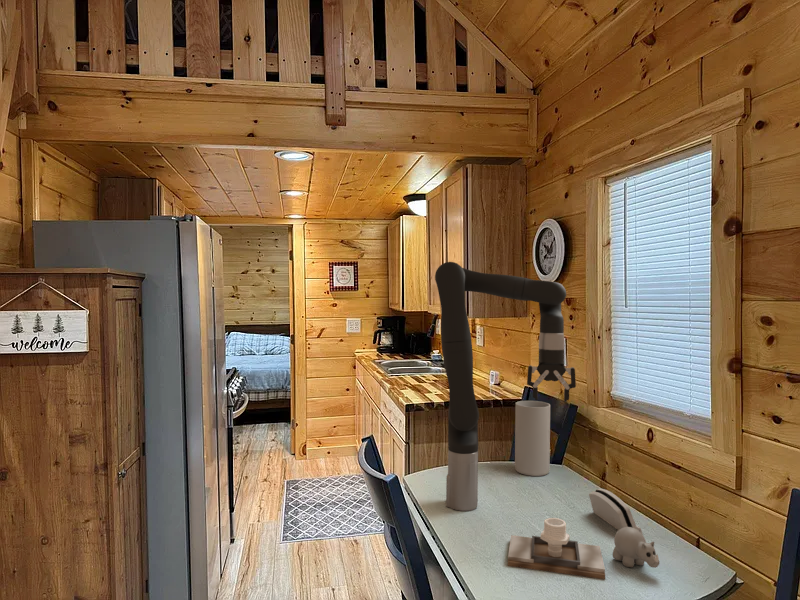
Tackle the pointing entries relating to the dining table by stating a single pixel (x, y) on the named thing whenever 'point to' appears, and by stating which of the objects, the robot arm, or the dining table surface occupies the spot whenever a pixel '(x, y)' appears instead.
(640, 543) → the chubby cartoon animal
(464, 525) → the dining table surface
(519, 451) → the cylinder vase
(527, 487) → the dining table surface
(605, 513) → the white striped curved block
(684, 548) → the dining table surface
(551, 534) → the pipe fitting
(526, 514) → the dining table surface
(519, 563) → the base
